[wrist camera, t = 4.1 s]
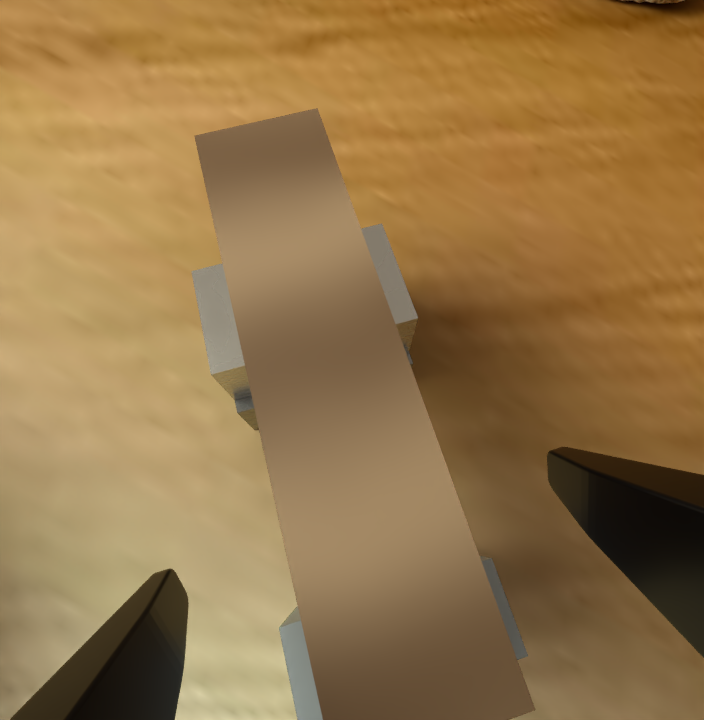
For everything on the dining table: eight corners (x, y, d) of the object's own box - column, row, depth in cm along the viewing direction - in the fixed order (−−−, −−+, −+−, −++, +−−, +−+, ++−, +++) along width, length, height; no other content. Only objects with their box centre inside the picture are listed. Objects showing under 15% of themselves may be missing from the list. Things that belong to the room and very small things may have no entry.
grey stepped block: (405, 386, 21) (423, 331, 15) (254, 430, 20) (213, 388, 14) (372, 293, 22) (377, 212, 17) (233, 330, 22) (189, 259, 16)
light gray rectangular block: (472, 616, 17) (528, 656, 12) (320, 668, 17) (300, 735, 11) (450, 550, 18) (491, 557, 12) (304, 597, 17) (278, 627, 12)
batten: (478, 653, 12) (535, 710, 8) (343, 700, 11) (337, 782, 8) (326, 202, 17) (317, 108, 13) (231, 225, 17) (194, 136, 13)
